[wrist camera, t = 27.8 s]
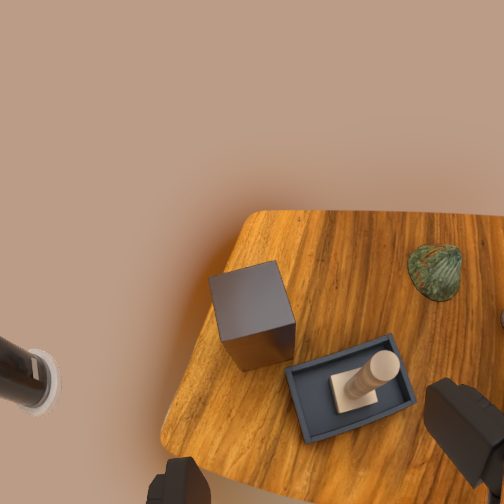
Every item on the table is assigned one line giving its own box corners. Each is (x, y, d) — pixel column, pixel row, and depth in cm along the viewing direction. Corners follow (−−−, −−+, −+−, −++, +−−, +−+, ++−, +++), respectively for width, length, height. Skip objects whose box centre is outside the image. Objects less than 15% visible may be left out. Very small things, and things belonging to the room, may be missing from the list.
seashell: (405, 245, 42) (448, 222, 43) (396, 258, 46) (439, 236, 47) (441, 303, 37) (482, 274, 39) (429, 313, 41) (470, 284, 42)
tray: (304, 443, 34) (306, 444, 31) (284, 373, 39) (284, 368, 36) (408, 405, 34) (417, 402, 31) (385, 340, 39) (391, 332, 37)
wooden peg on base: (335, 414, 35) (365, 402, 21) (327, 379, 37) (349, 346, 24) (371, 404, 35) (418, 383, 21) (363, 370, 37) (402, 330, 24)
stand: (242, 372, 40) (220, 342, 28) (231, 324, 43) (207, 277, 32) (294, 358, 40) (296, 322, 28) (280, 311, 44) (275, 259, 32)
